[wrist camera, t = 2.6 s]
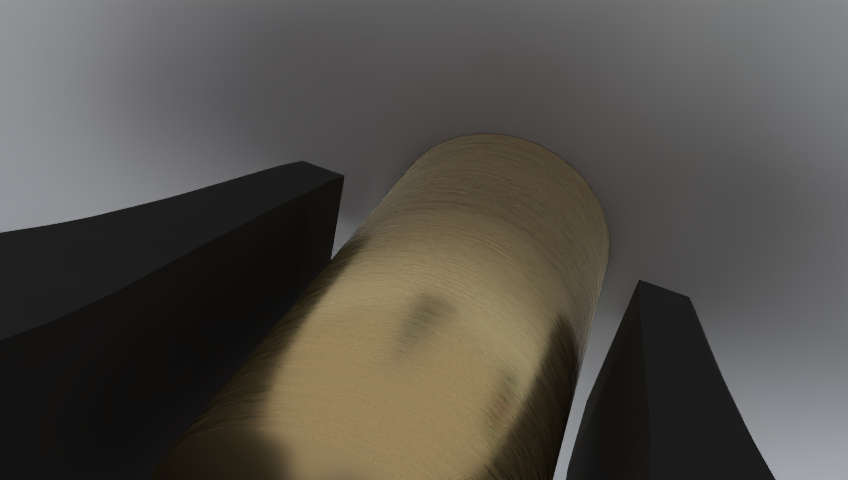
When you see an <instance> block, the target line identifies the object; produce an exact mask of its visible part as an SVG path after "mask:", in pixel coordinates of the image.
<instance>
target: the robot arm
mask: <svg viewBox="0 0 848 480" xmlns="http://www.w3.org/2000/svg"><path fill="white" fill-rule="evenodd" d="M343 182H344V175H341V174H338V173H335V172H332V171H330V170H327V169H324V168H321V167H318V166H315V165H313V164H310V163H307V162H304V161H300V162H294V163H289V164H285V165H281V166H277V167H274V168H270V169H267V170H263V171H260V172H256V173H253V174H249V175H246V176H243V177H239V178H236V179H233V180H229V181H226V182H222V183H219V184H215V185H212V186H209V187H205V188H202V189H198V190H195V191H191V192H188V193H184V194H181V195H178V196H174V197H170V198H166V199H162V200H158V201H154V202H150V203H146V204H142V205H138V206H134V207H130V208H126V209H122V210H118V211H113V212H109V213H105V214H101V215H97V216H93V217H88V218H83V219H78V220H74V221H68V222H63V223H58V224H52V225H47V226H40V227H34V228H28V229H21V230H15V231H9V232H2V233H0V480H150V477H151V475H152V474H153V472H154V470H155V469H156V467H157V465H158V464H159V462H160V461H161V460H162V459H163V458H164V457H165V455H166V454H167V453H168V452H169V451H170V449H171V448H172V447H173V446H174V445H175V444H176V442H177V441H178V440H179V439H180V438H181V437H182V435H183V434H184V433H185V432H186V431H187V429H188V428H189V427H190V426H191V425H192V424H193V422H194V421H195V420H196V419H197V418H198V417H199V415H200V414H201V413H202V412H203V411H204V409H205V408H206V407H207V406H208V405H209V404H210V402H211V401H212V400H213V399H214V398H215V396H216V395H217V394H218V393H219V392H220V391H221V389H222V388H223V387H224V386H225V385H226V384H227V382H228V381H229V380H230V379H231V378H232V376H233V375H234V374H235V373H236V372H237V371H238V369H239V368H240V367H241V366H242V365H243V363H244V362H245V361H246V360H247V359H248V358H249V356H250V355H251V354H252V353H253V352H254V351H255V349H256V348H257V347H258V346H259V345H260V343H261V342H262V341H263V340H264V339H265V338H266V336H267V335H268V334H269V333H270V332H271V331H272V329H273V328H274V327H275V326H276V325H277V323H278V322H279V321H280V320H281V319H282V318H283V316H284V315H285V314H286V313H287V312H288V310H289V309H290V308H291V307H292V306H293V305H294V303H295V302H296V301H297V300H298V299H299V298H300V296H301V295H302V294H303V293H304V292H305V290H306V289H307V288H308V287H309V286H310V285H311V283H312V282H313V281H314V280H315V279H316V277H317V276H318V275H319V274H320V273H321V272H322V270H323V269H324V268H325V267H326V266H327V265H328V263H329V262H330V261H331V255H332V249H333V243H334V237H335V231H336V225H337V218H338V212H339V206H340V200H341V194H342V188H343ZM566 480H775V478H774V476H773V475H772V473H771V471H770V469H769V468H768V466H767V464H766V462H765V461H764V459H763V457H762V455H761V453H760V452H759V450H758V448H757V446H756V445H755V443H754V441H753V439H752V437H751V435H750V433H749V431H748V429H747V427H746V425H745V423H744V421H743V419H742V417H741V415H740V413H739V410H738V408H737V406H736V404H735V402H734V400H733V398H732V396H731V394H730V392H729V390H728V387H727V385H726V383H725V381H724V379H723V376H722V374H721V372H720V369H719V367H718V365H717V362H716V360H715V358H714V355H713V353H712V351H711V348H710V346H709V343H708V341H707V338H706V336H705V334H704V331H703V329H702V326H701V324H700V321H699V319H698V316H697V314H696V311H695V309H694V307H693V305H692V302H691V300H690V298H689V297H687V296H684V295H681V294H678V293H676V292H673V291H670V290H667V289H664V288H661V287H659V286H656V285H653V284H650V283H647V282H644V281H642V280H639V282H638V284H637V286H636V289H635V291H634V293H633V296H632V298H631V300H630V303H629V305H628V307H627V310H626V312H625V314H624V316H623V319H622V321H621V323H620V326H619V328H618V330H617V333H616V335H615V337H614V340H613V342H612V344H611V347H610V349H609V351H608V354H607V356H606V358H605V361H604V363H603V365H602V367H601V370H600V372H599V374H598V377H597V379H596V381H595V384H594V386H593V388H592V391H591V393H590V395H589V398H588V400H587V403H586V406H585V410H584V413H583V417H582V420H581V424H580V427H579V431H578V434H577V438H576V441H575V445H574V448H573V452H572V456H571V459H570V463H569V466H568V471H567V477H566Z"/></svg>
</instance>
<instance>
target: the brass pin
mask: <svg viewBox="0 0 848 480" xmlns="http://www.w3.org/2000/svg"><path fill="white" fill-rule="evenodd" d="M608 257H609V233H608V227H607V222H606V219H605V216H604V213H603V210H602V208H601V206H600V204H599V201H598V199H597V197H596V196H595V194H594V193H593V191H592V189H591V188H590V186H589V185H588V184H587V182H586V181H585V180H584V179H583V178H582V177H581V175H580V174H579V173H578V172H577V171H576V170H575V169H574V168H572V167H571V166H570V165H569V164H568V163H567V162H566V161H564V160H563V159H561V158H560V157H559V156H557V155H556V154H554V153H553V152H551V151H549V150H547V149H545V148H543V147H542V146H540V145H537V144H535V143H532V142H530V141H527V140H524V139H520V138H516V137H513V136H507V135H500V134H474V135H466V136H462V137H458V138H454V139H451V140H448V141H446V142H443V143H441V144H439V145H437V146H435V147H434V148H432V149H430V150H429V151H427V152H426V153H425V154H423V155H422V156H421V157H420V158H418V159H417V160H416V161H415V162H414V164H413V165H412V166H411V167H410V168H409V169H408V170H407V171H406V173H405V174H404V175H403V176H402V177H401V179H400V180H399V181H398V182H397V183H396V184H395V186H394V187H393V188H392V189H391V190H390V191H389V193H388V194H387V195H386V196H385V197H384V199H383V200H382V201H381V202H380V203H379V204H378V206H377V207H376V208H375V209H374V210H373V212H372V213H371V214H370V215H369V216H368V217H367V219H366V220H365V221H364V222H363V223H362V224H361V226H360V227H359V228H358V229H357V230H356V232H355V233H354V234H353V235H352V236H351V237H350V239H349V240H348V241H347V242H346V243H345V245H344V246H343V247H342V248H341V249H340V250H339V252H338V253H337V254H336V255H335V256H334V257H333V259H332V260H331V261H330V262H329V263H328V265H327V266H326V267H325V268H324V269H323V270H322V272H321V273H320V274H319V275H318V276H317V277H316V279H315V280H314V281H313V282H312V283H311V285H310V286H309V287H308V288H307V289H306V290H305V292H304V293H303V294H302V295H301V296H300V298H299V299H298V300H297V301H296V302H295V303H294V305H293V306H292V307H291V308H290V309H289V310H288V312H287V313H286V314H285V315H284V316H283V318H282V319H281V320H280V321H279V322H278V323H277V325H276V326H275V327H274V328H273V329H272V331H271V332H270V333H269V334H268V335H267V336H266V338H265V339H264V340H263V341H262V342H261V343H260V345H259V346H258V347H257V348H256V349H255V351H254V352H253V353H252V354H251V355H250V356H249V358H248V359H247V360H246V361H245V362H244V363H243V365H242V366H241V367H240V368H239V369H238V371H237V372H236V373H235V374H234V375H233V376H232V378H231V379H230V380H229V381H228V382H227V384H226V385H225V386H224V387H223V388H222V389H221V391H220V392H219V393H218V394H217V395H216V396H215V398H214V399H213V400H212V401H211V402H210V404H209V405H208V406H207V407H206V408H205V409H204V411H203V412H202V413H201V414H200V415H199V417H198V418H197V419H196V420H195V421H194V422H193V424H192V425H191V426H190V427H189V428H188V429H187V431H186V432H185V433H184V434H183V435H182V437H181V438H180V439H179V440H178V441H177V442H176V444H175V445H174V446H173V447H172V448H171V449H170V451H169V452H168V453H167V454H166V455H165V457H164V458H163V459H162V460H161V461H160V462H159V464H158V465H157V467H156V469H155V470H154V472H153V474H152V475H151V477H150V480H553V476H554V472H555V468H556V465H557V461H558V457H559V453H560V449H561V445H562V441H563V437H564V433H565V429H566V425H567V421H568V417H569V413H570V410H571V406H572V402H573V398H574V394H575V390H576V386H577V382H578V378H579V374H580V370H581V366H582V362H583V359H584V355H585V351H586V347H587V343H588V339H589V335H590V331H591V327H592V323H593V319H594V315H595V311H596V307H597V304H598V300H599V296H600V292H601V288H602V284H603V280H604V276H605V272H606V268H607V264H608Z"/></svg>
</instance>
